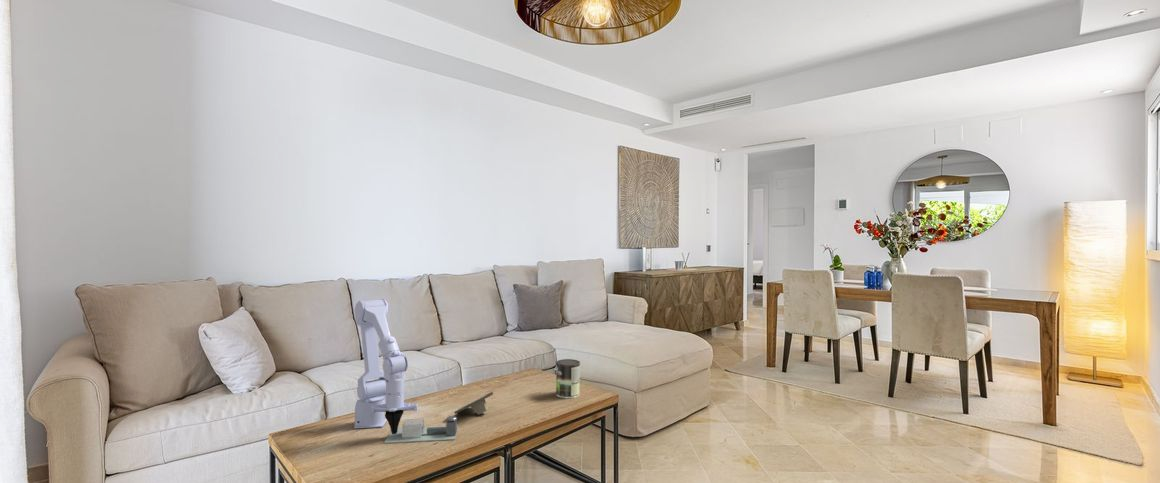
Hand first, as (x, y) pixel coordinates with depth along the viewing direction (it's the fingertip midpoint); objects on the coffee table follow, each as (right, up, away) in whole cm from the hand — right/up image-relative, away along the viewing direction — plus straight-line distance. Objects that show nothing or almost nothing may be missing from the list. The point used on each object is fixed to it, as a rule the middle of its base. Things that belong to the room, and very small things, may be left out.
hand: (394, 432), depth 160 cm
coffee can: (+57, -2, +46) cm, 73 cm away
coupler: (+15, -1, +2) cm, 15 cm away
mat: (+9, -2, +2) cm, 9 cm away
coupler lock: (+6, -1, +1) cm, 6 cm away
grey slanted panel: (+21, -2, +22) cm, 31 cm away
